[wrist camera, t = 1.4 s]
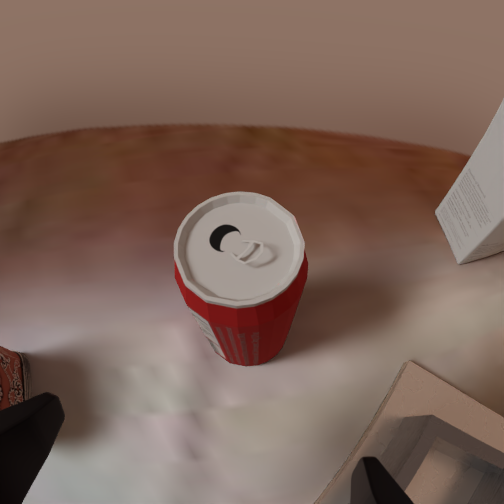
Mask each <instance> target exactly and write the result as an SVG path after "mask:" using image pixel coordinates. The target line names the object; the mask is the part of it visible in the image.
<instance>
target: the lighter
mask: <svg viewBox="0 0 504 504" xmlns="http://www.w3.org/2000/svg"><path fill="white" fill-rule="evenodd" d="M30 398H32V397H31V378H30V368H29V361H28V359H27V357H26V356H25V355H24V354H22V353H20V352H18V351H15V350H11V351H10V350H8V349H6V348H3V347H1V346H0V410H2V409H5V408H7V407H10V406H13V405H15V404H18V403H20V402H23V401H25V400H28V399H30Z"/></svg>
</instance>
